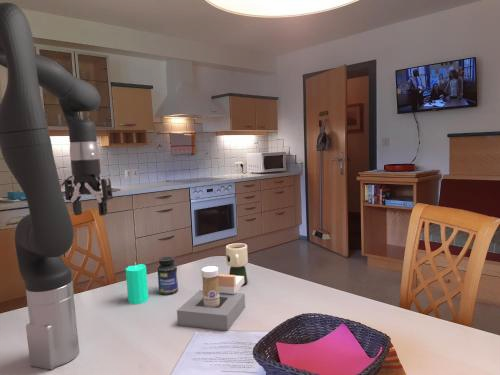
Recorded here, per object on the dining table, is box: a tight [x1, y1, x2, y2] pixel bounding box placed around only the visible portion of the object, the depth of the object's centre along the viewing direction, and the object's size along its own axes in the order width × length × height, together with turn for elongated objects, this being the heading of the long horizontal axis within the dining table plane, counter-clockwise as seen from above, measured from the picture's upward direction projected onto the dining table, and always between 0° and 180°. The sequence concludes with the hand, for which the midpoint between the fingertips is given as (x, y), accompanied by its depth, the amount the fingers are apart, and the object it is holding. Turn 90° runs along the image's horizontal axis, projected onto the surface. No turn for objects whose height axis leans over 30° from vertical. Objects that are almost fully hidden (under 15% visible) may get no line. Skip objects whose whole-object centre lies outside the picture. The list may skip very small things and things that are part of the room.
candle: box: [125, 262, 149, 305], centre depth 116 cm, size 6×6×12 cm
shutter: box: [218, 273, 245, 294], centre depth 113 cm, size 9×9×5 cm
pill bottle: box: [157, 256, 179, 296], centre depth 122 cm, size 6×6×11 cm
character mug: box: [225, 242, 249, 284], centre depth 126 cm, size 11×7×13 cm, turn 2°
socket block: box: [176, 289, 246, 331], centre depth 104 cm, size 14×14×4 cm
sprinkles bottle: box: [200, 265, 220, 308], centre depth 103 cm, size 5×5×13 cm
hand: (90, 215), depth 108 cm, fingers open, 8 cm apart
